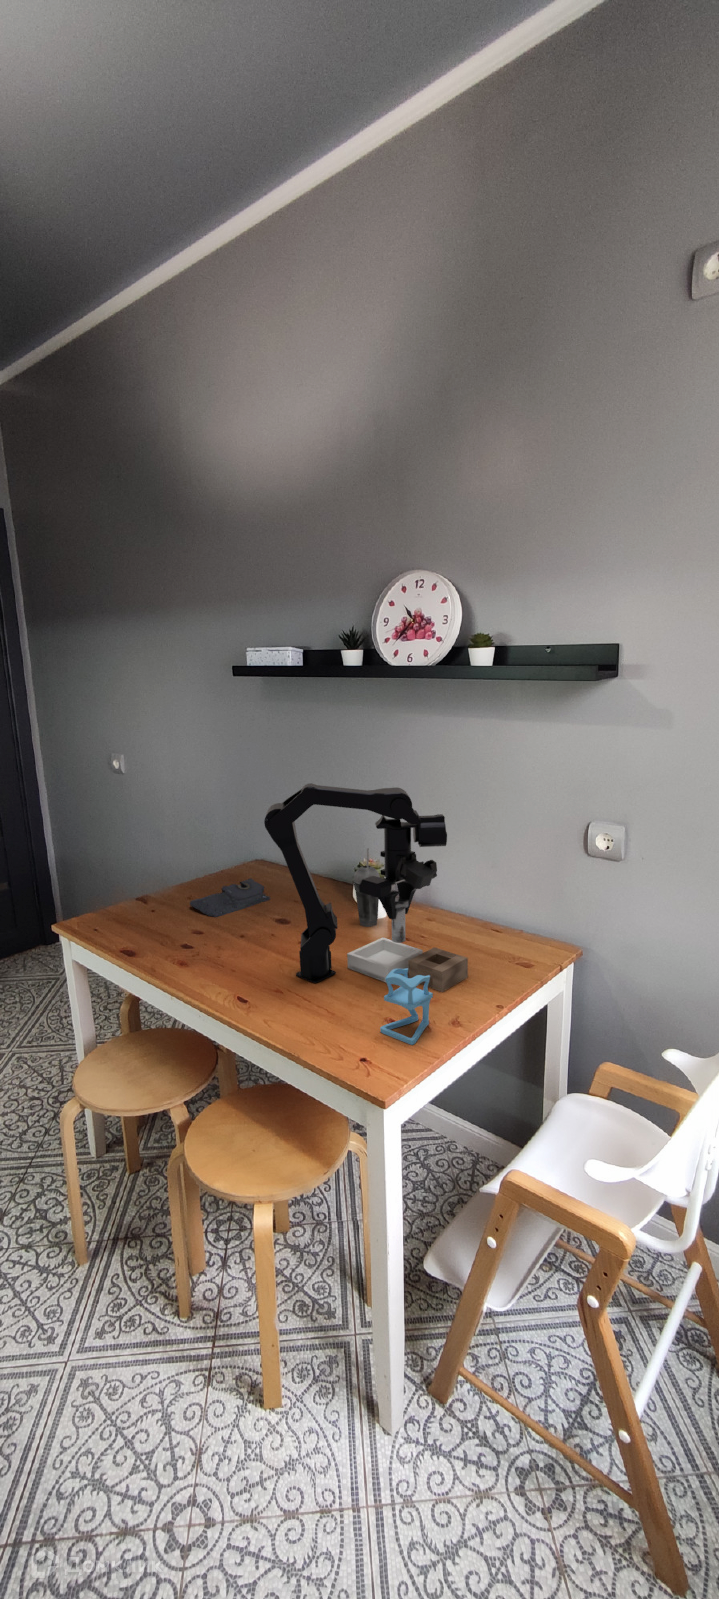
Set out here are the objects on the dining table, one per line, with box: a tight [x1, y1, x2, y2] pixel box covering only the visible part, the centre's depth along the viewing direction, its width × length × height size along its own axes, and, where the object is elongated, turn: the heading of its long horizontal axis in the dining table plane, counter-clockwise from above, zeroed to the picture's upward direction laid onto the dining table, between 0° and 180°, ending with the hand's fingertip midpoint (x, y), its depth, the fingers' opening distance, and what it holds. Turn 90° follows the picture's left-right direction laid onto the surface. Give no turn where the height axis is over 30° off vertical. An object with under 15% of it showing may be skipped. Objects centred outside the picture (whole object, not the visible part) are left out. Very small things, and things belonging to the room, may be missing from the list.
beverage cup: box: [352, 848, 381, 928], centre depth 189 cm, size 7×7×20 cm
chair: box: [379, 968, 434, 1046], centre depth 136 cm, size 8×8×12 cm
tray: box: [346, 937, 424, 983], centre depth 164 cm, size 12×12×4 cm
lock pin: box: [391, 896, 408, 944], centre depth 160 cm, size 4×4×9 cm
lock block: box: [408, 947, 469, 993], centre depth 157 cm, size 9×9×4 cm
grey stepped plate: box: [189, 878, 271, 918], centre depth 211 cm, size 15×22×5 cm
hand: (398, 916), depth 160 cm, fingers closed on lock pin, 4 cm apart
